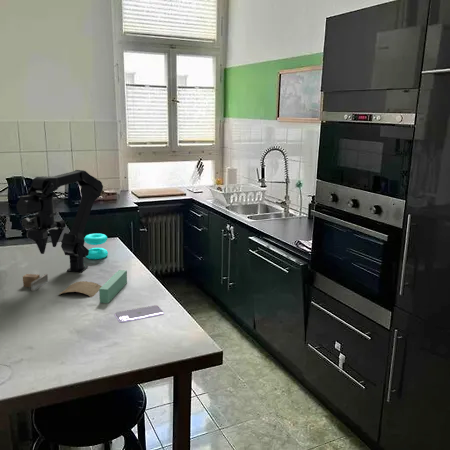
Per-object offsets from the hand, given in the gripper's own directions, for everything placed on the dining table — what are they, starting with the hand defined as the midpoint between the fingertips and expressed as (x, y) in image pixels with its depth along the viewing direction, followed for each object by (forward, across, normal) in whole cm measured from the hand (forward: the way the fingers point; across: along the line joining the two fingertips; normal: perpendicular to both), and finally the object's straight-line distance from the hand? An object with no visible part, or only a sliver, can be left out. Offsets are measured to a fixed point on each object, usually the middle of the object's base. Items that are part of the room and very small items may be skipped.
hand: (48, 250), depth 174 cm
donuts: (+12, -31, +6) cm, 34 cm away
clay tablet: (+13, +9, +16) cm, 23 cm away
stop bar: (+12, +8, +28) cm, 32 cm away
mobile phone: (+12, +25, +43) cm, 51 cm away
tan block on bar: (+12, +7, -3) cm, 14 cm away
